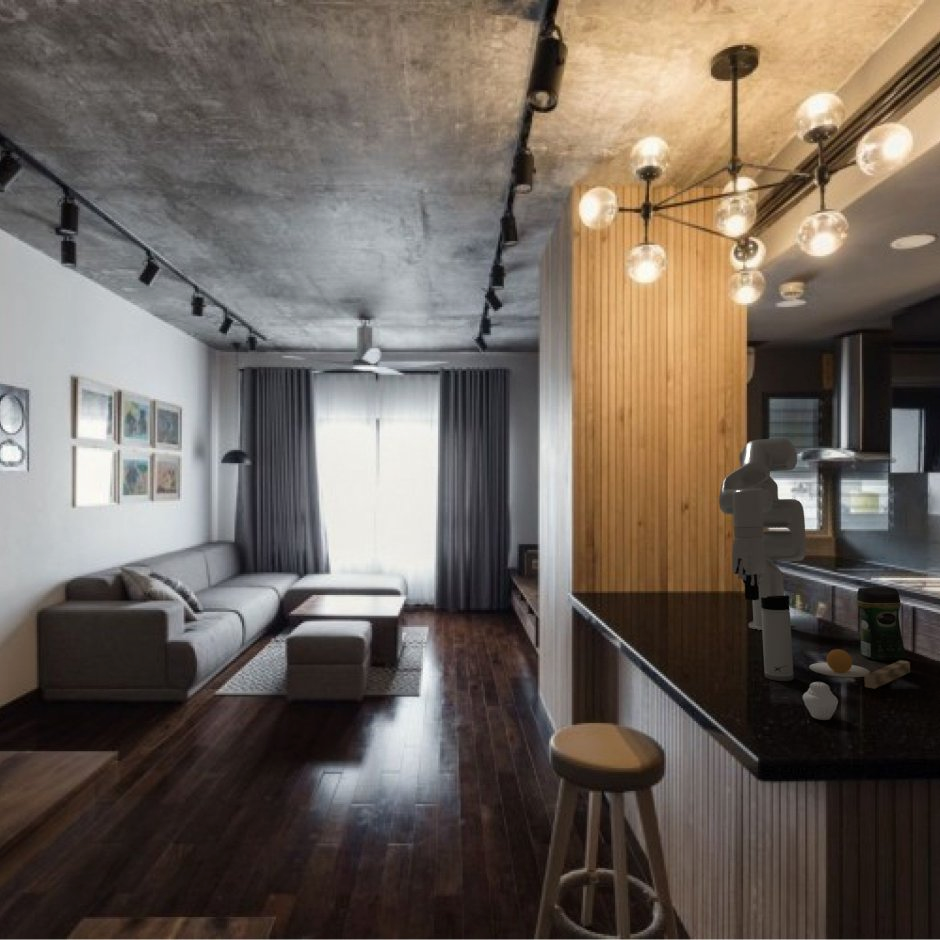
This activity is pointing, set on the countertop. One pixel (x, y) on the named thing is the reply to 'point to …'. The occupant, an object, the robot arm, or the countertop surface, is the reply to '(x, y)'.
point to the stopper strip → (887, 674)
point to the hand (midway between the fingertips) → (752, 599)
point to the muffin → (820, 701)
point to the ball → (839, 660)
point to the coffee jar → (880, 623)
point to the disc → (853, 672)
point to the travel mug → (777, 638)
